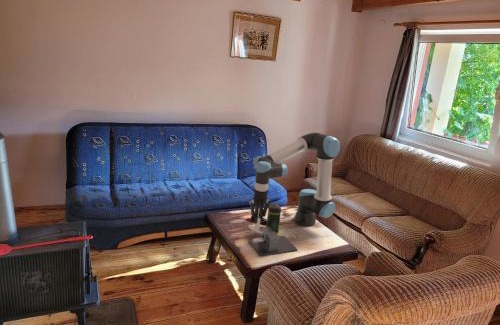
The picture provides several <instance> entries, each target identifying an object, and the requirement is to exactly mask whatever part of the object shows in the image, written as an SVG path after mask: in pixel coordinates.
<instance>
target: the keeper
mask: <svg viewBox="0 0 500 325" xmlns="http://www.w3.org/2000/svg"><path fill="white" fill-rule="evenodd" d="M248 227H249V228H250V229H251V231H253V232H255V233H258V234H259V233H261V234H263V235H264V233H265V232H264V231H263V230H262V229H256V228H255V225H254V226H253V225H252V224H250V225H249V226H248Z"/></svg>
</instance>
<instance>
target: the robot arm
mask: <svg viewBox="0 0 500 325" xmlns="http://www.w3.org/2000/svg"><path fill="white" fill-rule="evenodd" d="M340 149H341V144H340V141H339V140H338V138H336V137H335V136H332V135H327V134H324V133H321V132H315V131H314V132H310V133H307V134H304V135H301V136H299V137H297V139H296V140H295V141H293V142H291V143H289V144H287V145H285V146H283V147H281V148H279V149H277V150H275V151H273V152H271V153H269V154H267V155H265V156H260V155H258V156H256V157H255V158H254V159H253V166H254V167H255V180H254V189H253V198H252V199H251V200H248V203H249V207H250V214H251V217H252V218H254V220H253V222H254V227H255V228H256V229H259V228H260V227H261V226H260V225H261V223H262V221H263V220H262V219H263V218H265V217H266V216H267V213H268V206H269V204H271V203H272V201H271V200H270V199H269V198H268V193H269V191H268V190H269V184H270V179H276V178H282V177H285V176H287V175H288V170H289V169H288V166H287V164H286V163H285V162H284V161H286V160H288V159H290V158H292V157H294V156H296V155H298V154H300V153H301V152H303V153H304V152H308V151H313V152H315V157H316V159H317V160H318V162H317V178H316V189H311V188H304V189H301V190H300V192H299V195H298V201H297V202H298V203H297V210H296V212H295V215H294V216H293V222H294V223H295V224H297V225H299V226H302V227H303V226H304V227H313V226H315V225H316V222H317V219H316V215H317V216H319V217H321V218H324V219H327V218H329V217H331V216H332V215H333V214H334V213H335V210H336V204H335V202H333V196H332V195H331V186H332V172H333V171H332V170H333V160H334V159H336V157H337V156H338V154H339V153H340ZM254 206H255V207H254Z"/></svg>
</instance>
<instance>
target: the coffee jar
mask: <svg viewBox="0 0 500 325" xmlns="http://www.w3.org/2000/svg"><path fill="white" fill-rule="evenodd" d="M281 214H282V207H281V206H280V205H279V203H277V202H271V203H270V204H269V206H268V209H267V215H266V216H267V218H266V226H265V227H270V228H271V229H272V230H273V231H275V232H276V233H277V234H278V235H279V231H280V230H279V229H280V222H281Z"/></svg>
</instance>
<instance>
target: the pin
mask: <svg viewBox="0 0 500 325" xmlns="http://www.w3.org/2000/svg"><path fill="white" fill-rule="evenodd" d="M274 232H275V231H274ZM275 233H276V232H275ZM276 234H277V233H276ZM277 235H278V236H280V235H279V233H278V234H277ZM251 240H252V242H253V244H254V243H262V242H266V240H264V237H262V238H259V237H257V238H256V237H255V238H252V239H251Z"/></svg>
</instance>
